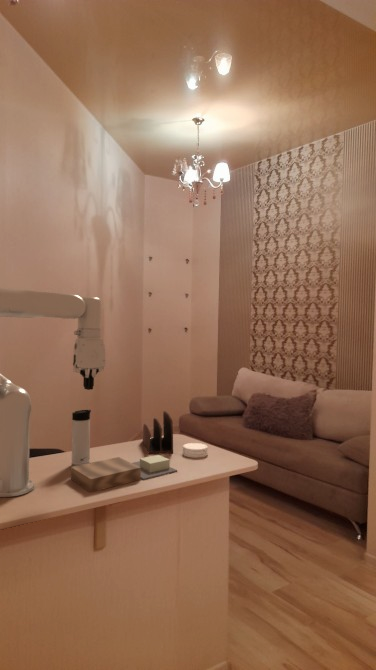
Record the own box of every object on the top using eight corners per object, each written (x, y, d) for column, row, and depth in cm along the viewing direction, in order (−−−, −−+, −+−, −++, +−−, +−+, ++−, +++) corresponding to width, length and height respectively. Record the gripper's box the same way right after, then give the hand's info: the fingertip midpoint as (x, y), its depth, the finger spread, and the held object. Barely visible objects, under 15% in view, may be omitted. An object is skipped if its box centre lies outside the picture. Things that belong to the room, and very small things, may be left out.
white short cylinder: (178, 452, 177) (178, 444, 177) (199, 449, 182) (199, 441, 182) (190, 459, 168) (190, 450, 168) (212, 456, 173) (212, 447, 173)
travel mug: (85, 468, 155) (86, 412, 155) (68, 467, 157) (69, 410, 156) (93, 463, 161) (93, 408, 161) (76, 461, 163) (77, 407, 162)
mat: (143, 480, 145) (143, 478, 145) (118, 467, 157) (118, 465, 157) (177, 471, 154) (177, 470, 154) (150, 460, 166) (150, 458, 166)
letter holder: (165, 440, 195) (165, 408, 195) (173, 453, 176) (173, 418, 176) (142, 441, 193) (142, 409, 193) (148, 454, 174) (148, 419, 173)
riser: (90, 492, 134) (90, 479, 134) (70, 479, 145) (70, 466, 145) (140, 479, 146) (140, 467, 145) (118, 468, 156) (118, 457, 156)
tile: (169, 459, 156) (169, 468, 156) (158, 454, 161) (158, 462, 162) (150, 463, 151) (150, 472, 151) (139, 458, 157) (139, 466, 157)
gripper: (73, 334, 140) (72, 392, 140) (114, 334, 149) (113, 388, 150) (63, 334, 146) (62, 389, 146) (103, 333, 155) (103, 386, 156)
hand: (88, 389), depth 148 cm, fingers closed
